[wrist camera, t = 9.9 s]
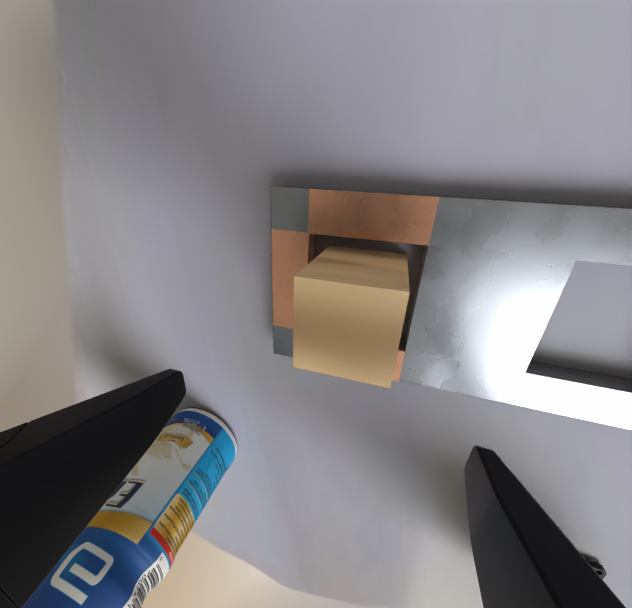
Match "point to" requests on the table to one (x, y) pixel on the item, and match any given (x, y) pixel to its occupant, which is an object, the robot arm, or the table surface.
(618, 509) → the table surface
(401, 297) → the wooden block
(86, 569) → the beverage bottle
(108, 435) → the robot arm
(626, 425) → the rail frame
